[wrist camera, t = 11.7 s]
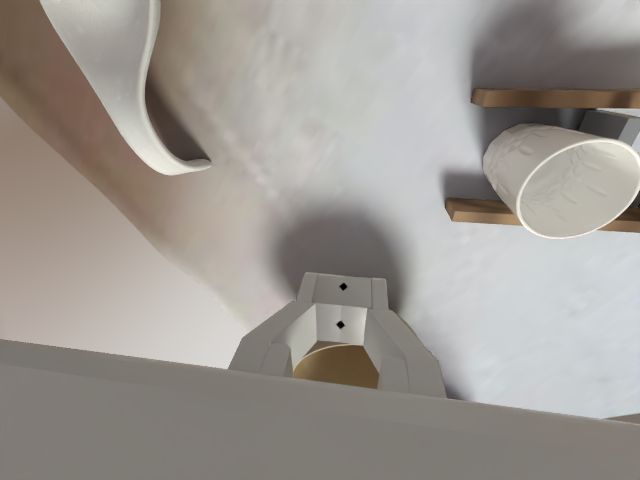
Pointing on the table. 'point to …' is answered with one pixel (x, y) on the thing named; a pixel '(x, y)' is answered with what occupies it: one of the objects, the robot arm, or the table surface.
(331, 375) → the flower pot
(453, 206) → the brown wooden frame
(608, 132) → the pusher
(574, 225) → the white cup
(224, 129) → the table surface
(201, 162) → the spoon rest
